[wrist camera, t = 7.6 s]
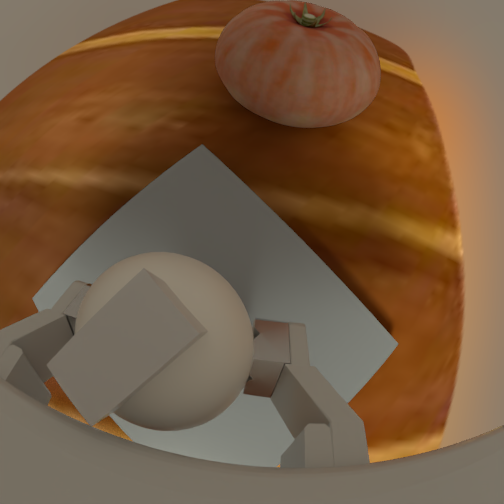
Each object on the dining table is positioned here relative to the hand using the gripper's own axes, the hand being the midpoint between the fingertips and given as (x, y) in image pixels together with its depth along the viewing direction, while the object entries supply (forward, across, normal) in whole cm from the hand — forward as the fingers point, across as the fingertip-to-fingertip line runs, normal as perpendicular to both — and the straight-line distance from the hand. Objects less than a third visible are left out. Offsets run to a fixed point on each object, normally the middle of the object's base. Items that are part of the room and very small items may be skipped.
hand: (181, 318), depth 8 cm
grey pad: (+4, 0, +5) cm, 6 cm away
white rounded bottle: (+3, 0, +4) cm, 5 cm away
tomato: (+16, -3, -7) cm, 18 cm away
